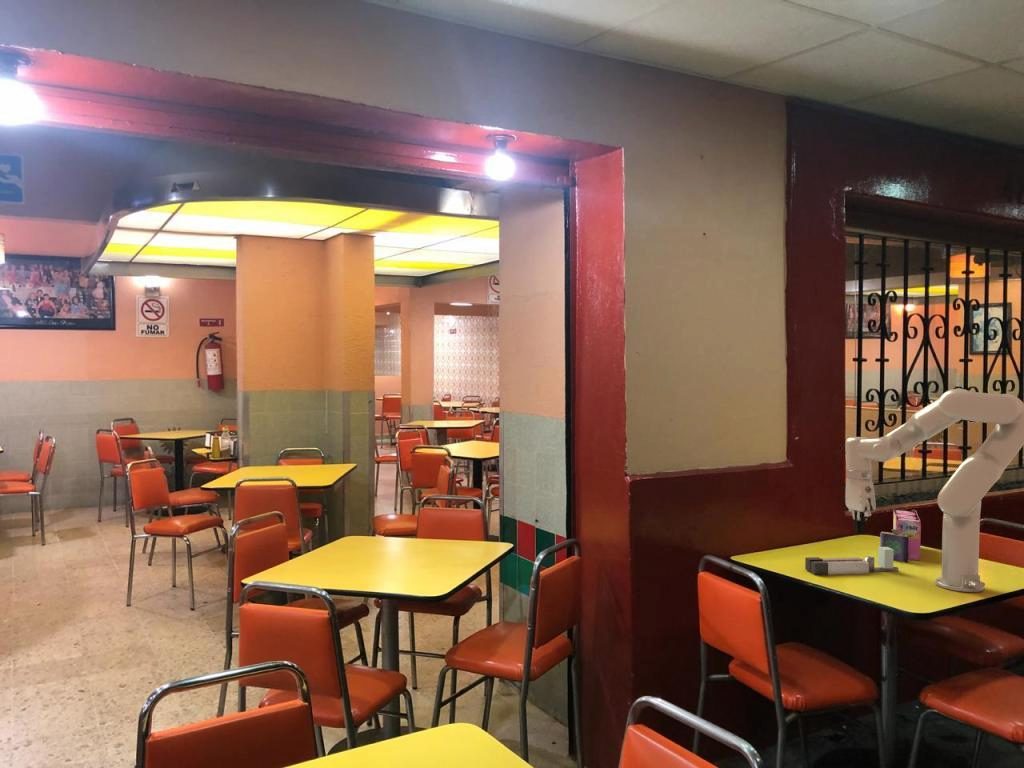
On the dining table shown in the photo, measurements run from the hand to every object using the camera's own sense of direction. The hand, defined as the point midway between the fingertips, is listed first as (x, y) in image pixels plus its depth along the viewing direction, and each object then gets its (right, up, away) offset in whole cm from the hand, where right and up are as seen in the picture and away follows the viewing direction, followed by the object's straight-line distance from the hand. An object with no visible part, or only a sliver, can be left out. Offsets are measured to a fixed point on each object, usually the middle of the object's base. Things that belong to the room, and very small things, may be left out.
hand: (860, 532), depth 246 cm
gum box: (+28, -12, +25) cm, 39 cm away
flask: (+18, -13, +14) cm, 26 cm away
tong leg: (-8, -12, 0) cm, 15 cm away
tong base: (-2, -12, -2) cm, 13 cm away
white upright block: (+8, -11, 0) cm, 14 cm away
